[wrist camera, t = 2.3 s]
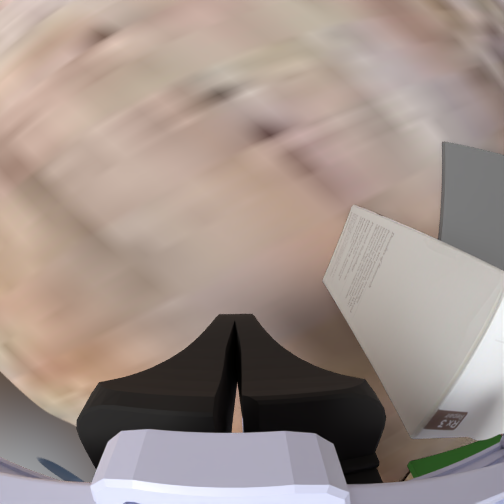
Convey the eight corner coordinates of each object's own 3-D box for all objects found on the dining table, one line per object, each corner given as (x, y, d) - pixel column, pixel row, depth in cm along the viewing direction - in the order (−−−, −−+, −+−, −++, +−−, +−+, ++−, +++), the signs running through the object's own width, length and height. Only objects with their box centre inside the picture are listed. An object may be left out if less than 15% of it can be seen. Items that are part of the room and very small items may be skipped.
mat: (522, 333, 24) (524, 334, 23) (415, 360, 23) (417, 362, 23) (548, 169, 19) (550, 169, 19) (442, 141, 19) (445, 141, 19)
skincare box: (437, 241, 21) (594, 318, 6) (406, 313, 22) (528, 435, 8) (344, 200, 20) (523, 263, 5) (312, 284, 21) (413, 453, 7)
